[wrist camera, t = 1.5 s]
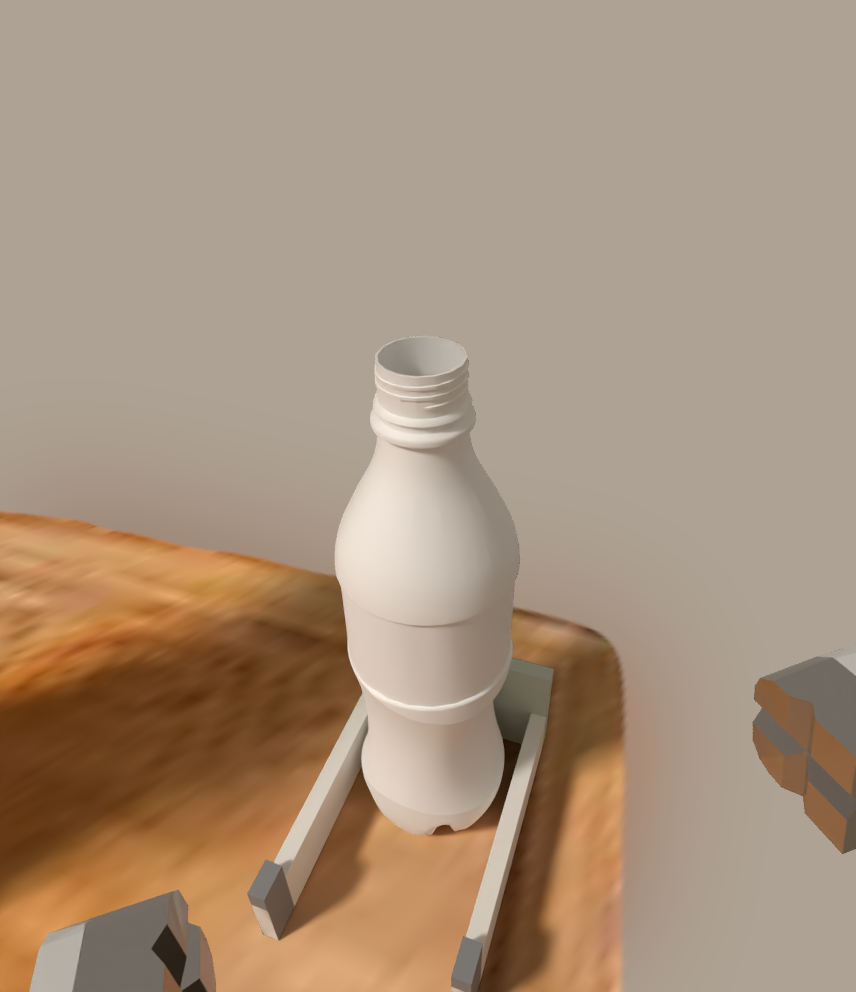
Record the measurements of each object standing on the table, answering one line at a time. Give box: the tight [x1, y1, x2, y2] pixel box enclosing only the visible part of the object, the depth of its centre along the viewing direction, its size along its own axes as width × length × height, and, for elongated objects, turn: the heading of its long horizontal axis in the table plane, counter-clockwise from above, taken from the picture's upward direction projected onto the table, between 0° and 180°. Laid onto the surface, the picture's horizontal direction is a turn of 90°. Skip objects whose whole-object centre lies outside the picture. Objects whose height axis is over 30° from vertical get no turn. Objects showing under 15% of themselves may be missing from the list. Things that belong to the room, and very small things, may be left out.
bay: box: [248, 658, 554, 992], centre depth 34 cm, size 10×14×6 cm
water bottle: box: [335, 336, 520, 836], centre depth 30 cm, size 7×7×25 cm
